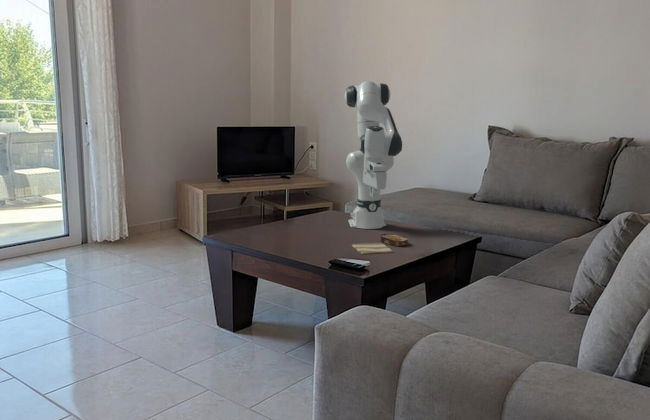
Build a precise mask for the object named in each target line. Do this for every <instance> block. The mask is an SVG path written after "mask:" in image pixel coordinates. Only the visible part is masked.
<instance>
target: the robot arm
mask: <svg viewBox="0 0 650 420" xmlns="http://www.w3.org/2000/svg"><path fill="white" fill-rule="evenodd" d="M390 99H391V90H390V88H389V85H388V84H386V83H375V82H374V81H372V80H365V81H363V82H361V83H360V84H356V85H349V86H347V88H346V89H345V92H344V101H345V103H346V105H347V106H348V107H349V108H354V109H355V108H357V113H356V114H357V116H356V123H357V124H356V126H357V138H358V140H359V143H360V145H359V150H356V151H352V152H349V154H347V156H346V160H345V165H346V168H347V169H348V171H350V172H351V173H352V174H353V175H354V177H355V179H356V181H357V188H358V191H357V192H358V194H357V195H358V196H357V199H356V207H355V208H354V209H353V212H350V219H348V220H347V221H348V223H349V226H350V228H357V229H366V230H377V229H381V228H384V227H386V226H387V224H386V223H385V222H384V209H383V208H381V207H382V199H381V190H385V189H386V188H387V187H386V186H387V177H388V176H387V171H389V170H391V169H392V168H393V166H394V163H395V158H394V157H396V156H397V155H399V154H400V153H401V152H402V150H403V140H402V136H401V135H400V133H399V131H398V128H397V126H396V123H395V120H394V117H393V115H392V112H391V111H390V109H389V108H388V107H387V106H386V105H387V104H388V103H389V102H390ZM380 125H383V126H384V127H383V126H380Z"/></svg>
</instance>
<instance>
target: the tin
mask: <svg viewBox="0 0 650 420" xmlns="http://www.w3.org/2000/svg"><path fill="white" fill-rule="evenodd" d="M379 239H380V243H383V244H387V245H391V246H395V247H402V246H408V243H409V238H407V237H405V236H402V235H398V234H394V233H383V234H380V235H379Z"/></svg>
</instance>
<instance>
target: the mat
mask: <svg viewBox="0 0 650 420" xmlns="http://www.w3.org/2000/svg"><path fill="white" fill-rule="evenodd" d="M351 246H352V247H353V248H354V249H355V250H356V251H357V252H358V253H359V254H361V255H371V254H389V253H394V251H393V250H392V249H391V248H390V247H388V246H386V245H385V243H383V242H373V243H372V242H371V243H370V242H369V243H352V244H351Z"/></svg>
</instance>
